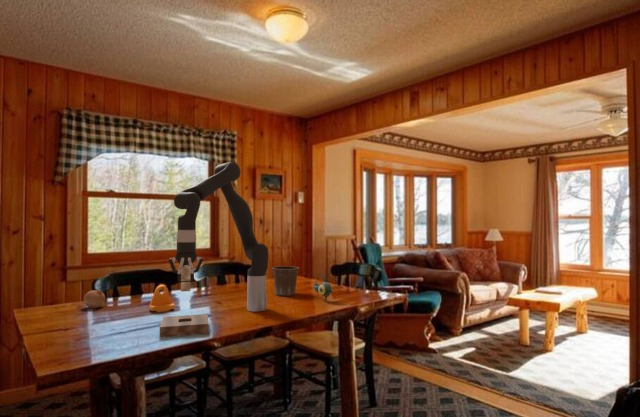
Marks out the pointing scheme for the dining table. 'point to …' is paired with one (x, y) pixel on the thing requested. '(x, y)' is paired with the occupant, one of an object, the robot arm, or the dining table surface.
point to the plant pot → (285, 280)
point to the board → (184, 325)
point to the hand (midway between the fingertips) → (185, 282)
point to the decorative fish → (323, 288)
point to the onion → (94, 299)
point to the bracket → (161, 300)
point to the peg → (185, 278)
